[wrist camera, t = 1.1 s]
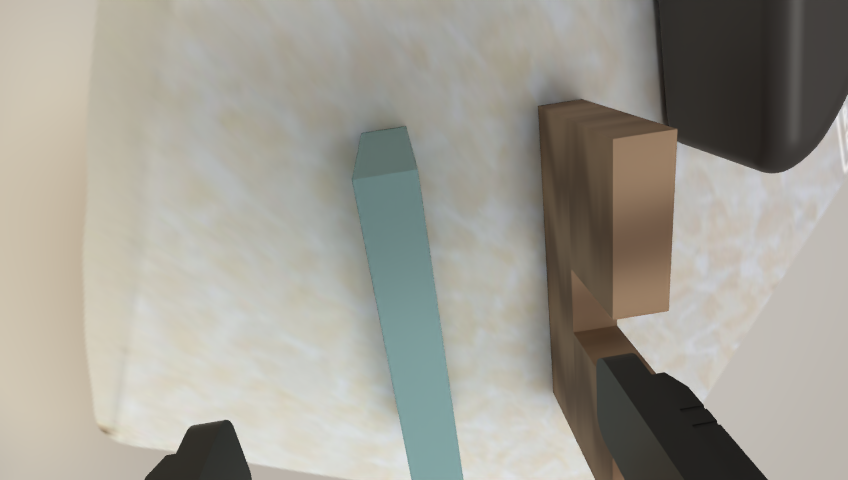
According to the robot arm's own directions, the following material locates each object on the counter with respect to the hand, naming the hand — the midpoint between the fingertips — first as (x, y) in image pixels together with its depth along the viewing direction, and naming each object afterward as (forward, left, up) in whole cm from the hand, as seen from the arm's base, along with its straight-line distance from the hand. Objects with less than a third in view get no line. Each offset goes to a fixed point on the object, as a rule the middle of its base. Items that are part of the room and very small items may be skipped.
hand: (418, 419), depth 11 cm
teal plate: (+7, 0, -20) cm, 21 cm away
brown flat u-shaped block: (+7, +10, -20) cm, 23 cm away
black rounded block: (-8, +16, -20) cm, 27 cm away
